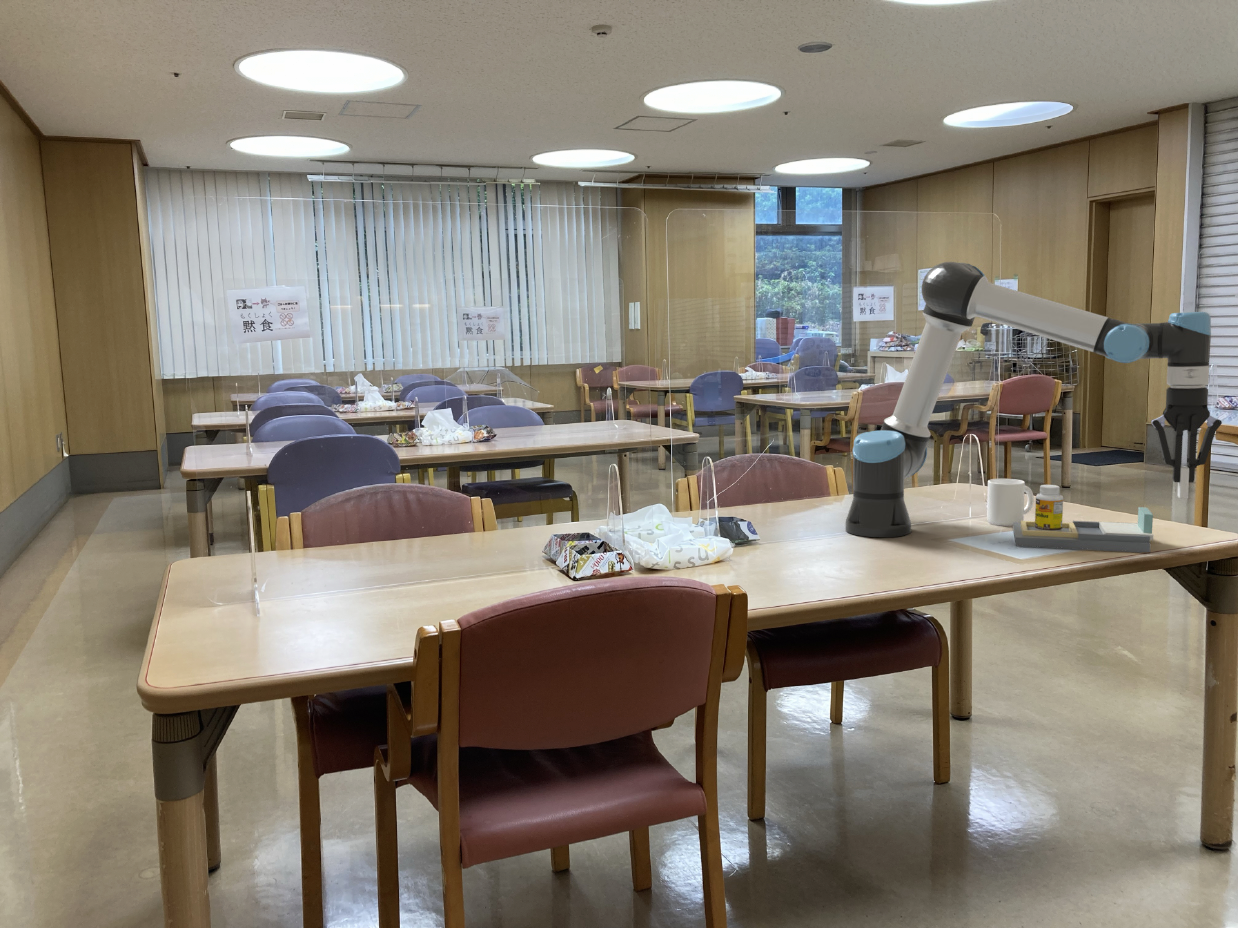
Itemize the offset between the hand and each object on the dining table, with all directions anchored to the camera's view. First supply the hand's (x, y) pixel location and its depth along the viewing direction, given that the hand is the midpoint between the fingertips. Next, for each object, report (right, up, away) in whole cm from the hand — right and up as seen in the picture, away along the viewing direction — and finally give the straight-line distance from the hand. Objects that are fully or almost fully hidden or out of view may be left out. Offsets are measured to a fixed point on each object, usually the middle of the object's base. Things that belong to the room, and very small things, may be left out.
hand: (1182, 497), depth 201 cm
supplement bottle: (-24, -8, +10) cm, 27 cm away
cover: (-10, -8, +5) cm, 14 cm away
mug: (-24, -7, +30) cm, 39 cm away
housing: (-19, -10, +9) cm, 23 cm away
